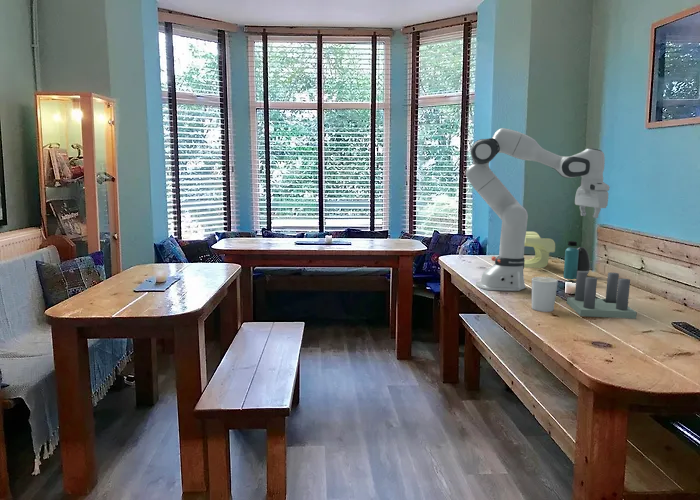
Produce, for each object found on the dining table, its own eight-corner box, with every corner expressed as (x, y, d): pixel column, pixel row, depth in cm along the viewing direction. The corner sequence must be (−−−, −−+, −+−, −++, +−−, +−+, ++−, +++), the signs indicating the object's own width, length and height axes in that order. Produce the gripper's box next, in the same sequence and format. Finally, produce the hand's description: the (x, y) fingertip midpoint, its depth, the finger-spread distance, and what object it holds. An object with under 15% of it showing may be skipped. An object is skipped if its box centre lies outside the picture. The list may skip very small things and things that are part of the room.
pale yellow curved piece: (553, 270, 299) (555, 238, 297) (523, 270, 300) (525, 237, 297) (537, 261, 329) (539, 231, 326) (510, 260, 330) (512, 231, 327)
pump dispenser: (568, 276, 284) (570, 247, 281) (568, 273, 293) (570, 245, 291) (590, 278, 280) (592, 249, 278) (589, 274, 290) (591, 246, 287)
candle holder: (555, 307, 222) (557, 278, 220) (555, 313, 213) (558, 283, 211) (529, 305, 225) (531, 276, 223) (529, 310, 216) (531, 280, 214)
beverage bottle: (578, 282, 270) (581, 242, 266) (563, 282, 271) (566, 241, 268) (575, 280, 276) (578, 240, 273) (561, 279, 277) (564, 240, 274)
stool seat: (636, 318, 207) (639, 282, 205) (580, 316, 209) (583, 280, 207) (617, 305, 227) (620, 271, 224) (566, 303, 229) (569, 270, 227)
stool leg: (608, 308, 221) (611, 274, 219) (602, 306, 225) (605, 272, 223) (617, 308, 222) (621, 274, 219) (611, 305, 225) (614, 272, 223)
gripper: (572, 184, 253) (570, 214, 255) (598, 186, 233) (595, 219, 235) (585, 184, 254) (582, 214, 256) (612, 186, 234) (609, 219, 236)
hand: (589, 216), depth 246 cm, fingers open, 8 cm apart
